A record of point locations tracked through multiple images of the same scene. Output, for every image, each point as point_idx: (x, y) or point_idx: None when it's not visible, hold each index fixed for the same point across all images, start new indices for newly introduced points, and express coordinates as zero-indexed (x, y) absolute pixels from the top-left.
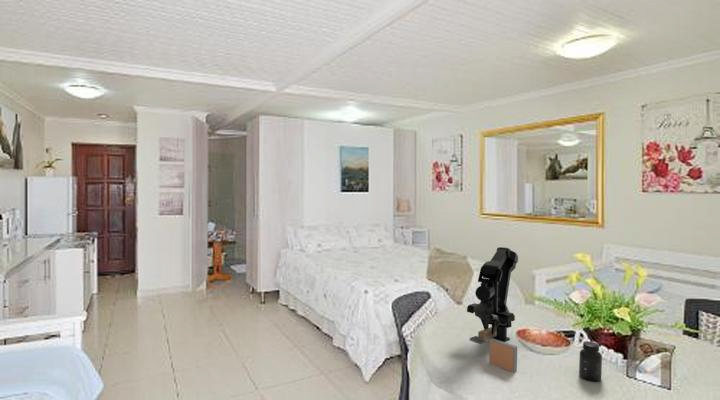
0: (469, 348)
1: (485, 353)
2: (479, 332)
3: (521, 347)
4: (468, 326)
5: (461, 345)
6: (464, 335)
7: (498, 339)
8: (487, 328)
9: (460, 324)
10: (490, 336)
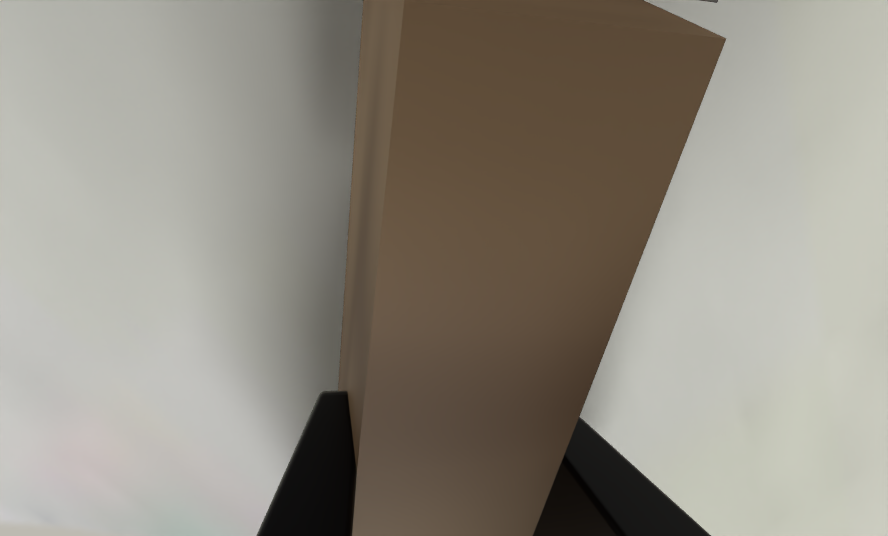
0: (673, 8)
1: (351, 7)
2: (658, 27)
3: (143, 531)
4: (805, 527)
5: (820, 31)
6: (817, 357)
7: None
8: (534, 510)
9: (879, 512)
10: (346, 314)
